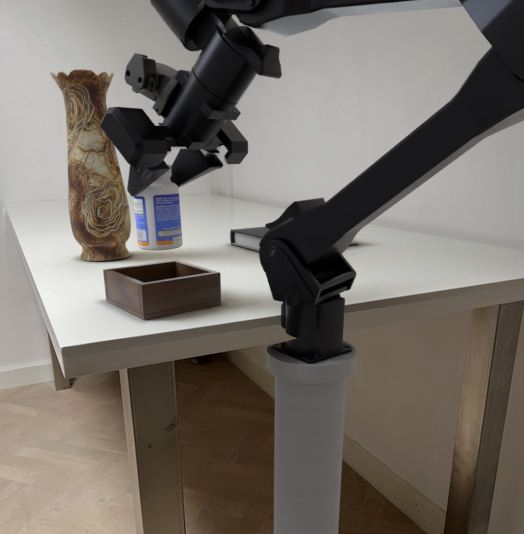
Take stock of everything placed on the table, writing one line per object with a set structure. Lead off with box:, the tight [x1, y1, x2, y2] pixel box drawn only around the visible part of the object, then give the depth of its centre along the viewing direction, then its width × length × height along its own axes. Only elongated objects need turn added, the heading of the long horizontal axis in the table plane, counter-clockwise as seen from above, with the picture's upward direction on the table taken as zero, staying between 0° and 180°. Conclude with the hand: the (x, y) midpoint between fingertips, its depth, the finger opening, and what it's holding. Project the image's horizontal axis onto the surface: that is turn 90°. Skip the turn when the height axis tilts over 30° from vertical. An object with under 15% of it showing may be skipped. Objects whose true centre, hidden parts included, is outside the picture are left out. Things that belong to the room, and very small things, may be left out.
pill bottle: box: [133, 163, 183, 251], centre depth 66 cm, size 5×5×10 cm
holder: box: [102, 259, 222, 321], centre depth 69 cm, size 11×11×4 cm
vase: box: [49, 68, 132, 262], centre depth 95 cm, size 10×11×30 cm
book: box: [229, 226, 359, 253], centre depth 112 cm, size 22×15×3 cm
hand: (148, 192), depth 67 cm, fingers closed on pill bottle, 5 cm apart
